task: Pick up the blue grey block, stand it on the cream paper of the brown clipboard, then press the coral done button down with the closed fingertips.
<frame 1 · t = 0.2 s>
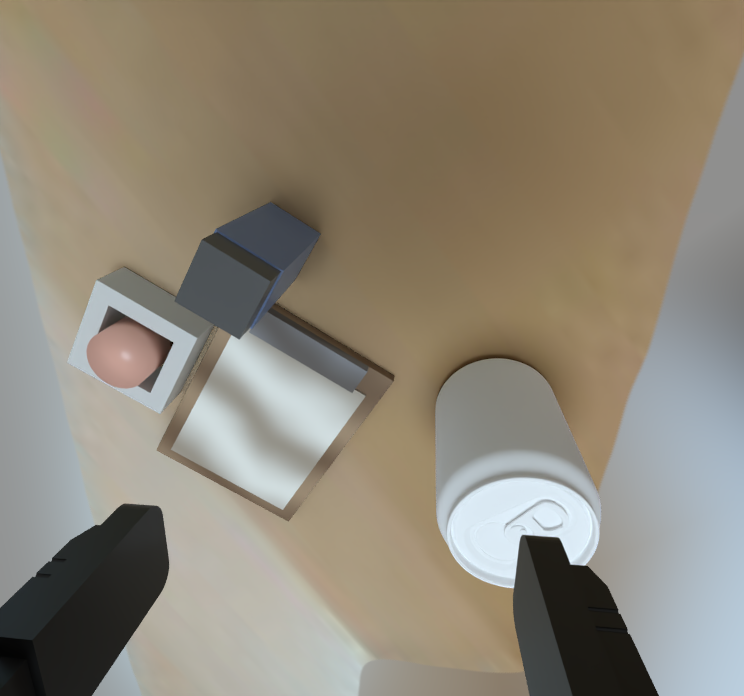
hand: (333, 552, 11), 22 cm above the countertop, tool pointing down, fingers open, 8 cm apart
beverage can: (493, 404, 34), on the countertop
blue grey block: (283, 242, 31), on the countertop
button housing: (153, 333, 35), on the countertop
done button: (130, 350, 32), point 3 cm above the countertop, slide at 0.0 cm
clipboard: (269, 412, 37), on the countertop
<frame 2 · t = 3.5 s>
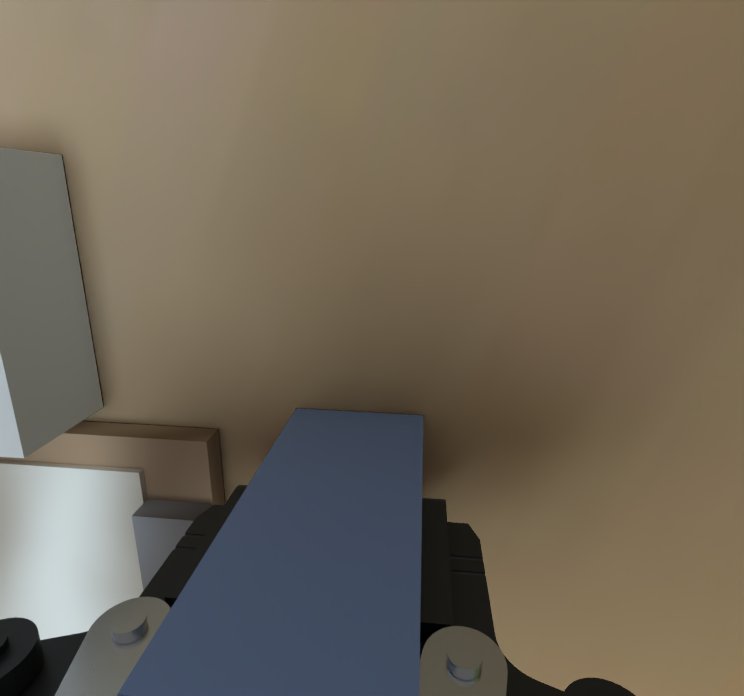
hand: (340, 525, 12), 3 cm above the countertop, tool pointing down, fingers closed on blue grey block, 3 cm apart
blue grey block: (358, 468, 14), on the countertop, touching gripper
clipboard: (9, 573, 17), on the countertop
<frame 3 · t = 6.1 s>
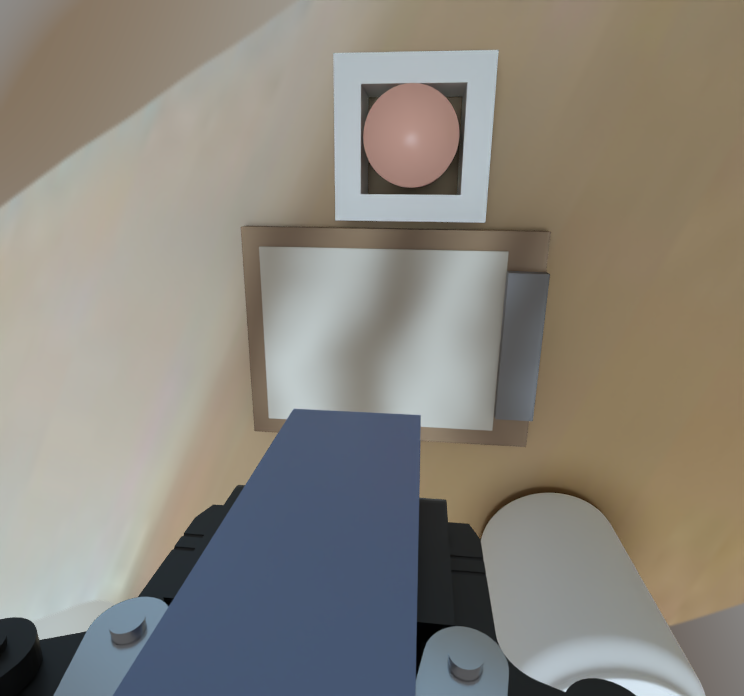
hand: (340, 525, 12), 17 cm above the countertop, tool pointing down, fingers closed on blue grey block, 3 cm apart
beverage can: (543, 540, 31), on the countertop
blue grey block: (356, 468, 14), point 14 cm above the countertop, touching gripper
button housing: (413, 147, 25), on the countertop
done button: (411, 140, 22), point 3 cm above the countertop, slide at 0.0 cm
clipboard: (389, 337, 28), on the countertop
when the fingers open (4 cm above the countertop, at t = 8.6 s): blue grey block stays where it is, resting on clipboard.
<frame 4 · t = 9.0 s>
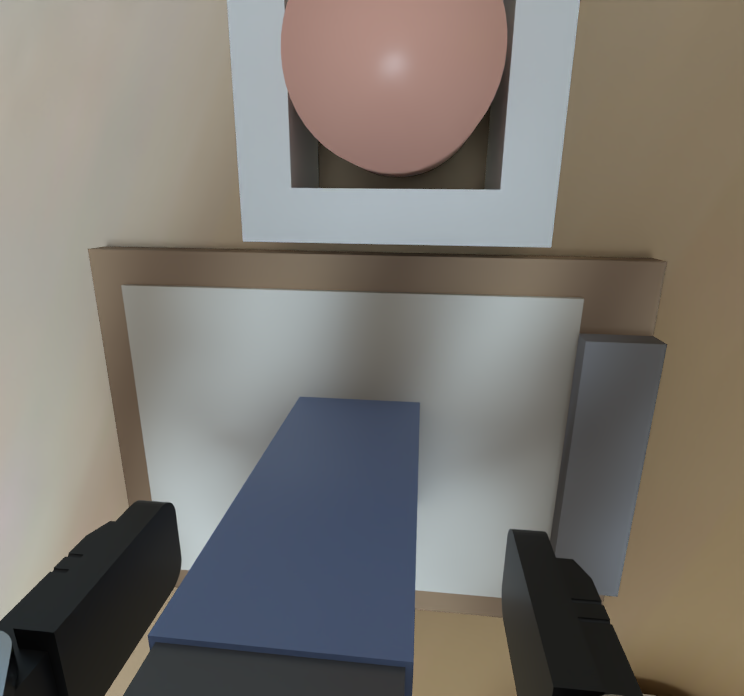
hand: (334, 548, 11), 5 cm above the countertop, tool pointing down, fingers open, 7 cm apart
blue grey block: (359, 453, 15), point 1 cm above the countertop, touching clipboard
button housing: (402, 99, 13), on the countertop
done button: (396, 71, 10), point 3 cm above the countertop, slide at 0.0 cm
clipboard: (363, 438, 16), on the countertop
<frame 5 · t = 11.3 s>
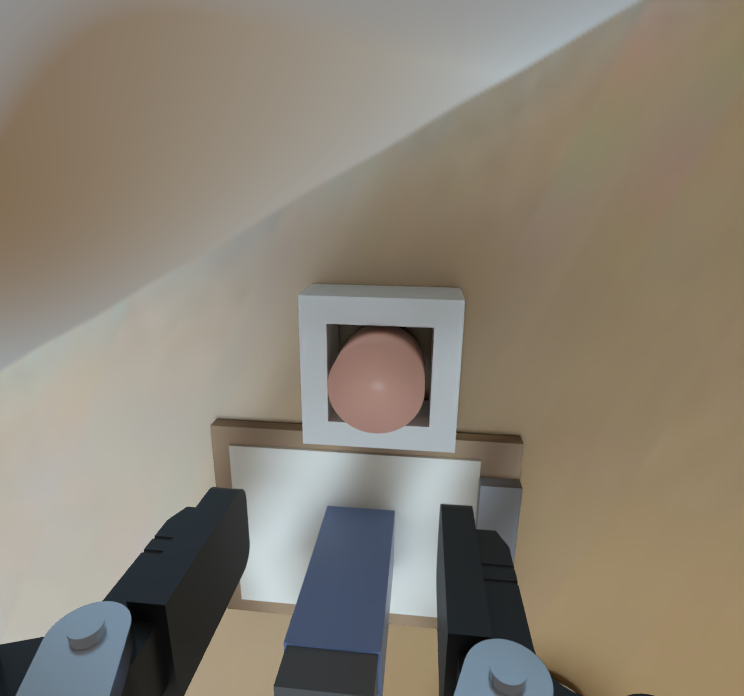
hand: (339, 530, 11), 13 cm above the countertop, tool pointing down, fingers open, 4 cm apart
blue grey block: (360, 536, 26), point 1 cm above the countertop, touching clipboard
button housing: (384, 355, 24), on the countertop
done button: (378, 376, 21), point 3 cm above the countertop, slide at 0.0 cm
clipboard: (363, 524, 27), on the countertop
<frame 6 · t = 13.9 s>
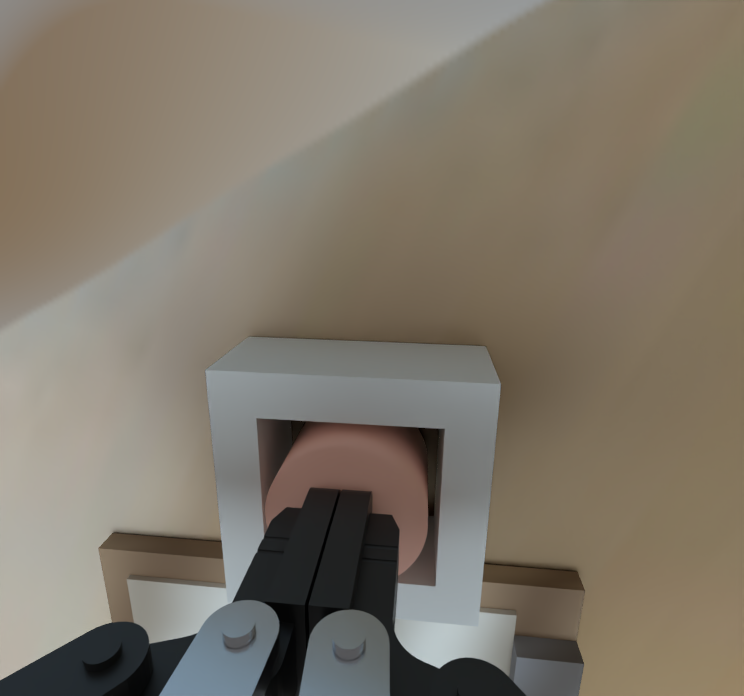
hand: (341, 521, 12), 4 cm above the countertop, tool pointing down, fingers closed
button housing: (363, 448, 15), on the countertop
done button: (353, 486, 13), point 2 cm above the countertop, slide at 0.9 cm, touching gripper
clipboard: (336, 684, 18), on the countertop
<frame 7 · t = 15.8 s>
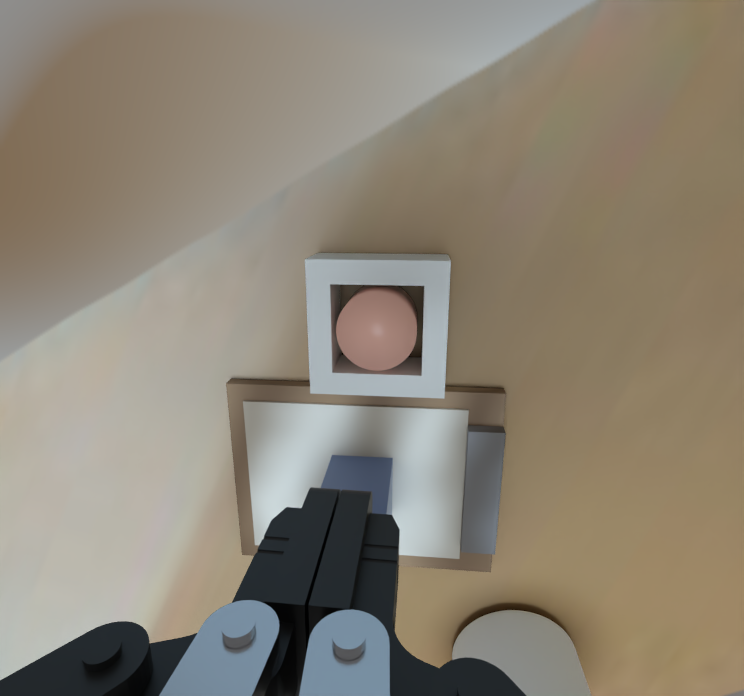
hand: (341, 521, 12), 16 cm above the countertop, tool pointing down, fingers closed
beverage can: (511, 647, 33), on the countertop
blue grey block: (362, 483, 29), point 1 cm above the countertop, touching clipboard
button housing: (381, 317, 27), on the countertop
done button: (378, 324, 25), point 2 cm above the countertop, slide at 1.2 cm
clipboard: (364, 474, 30), on the countertop
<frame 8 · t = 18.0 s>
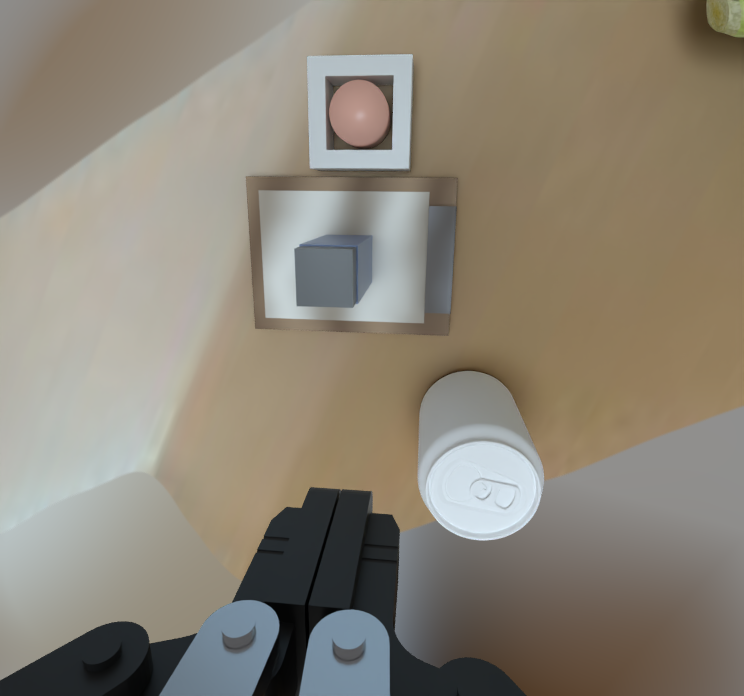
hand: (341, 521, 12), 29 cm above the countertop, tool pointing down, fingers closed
beverage can: (466, 411, 42), on the countertop
blue grey block: (349, 258, 38), point 1 cm above the countertop, touching clipboard
button housing: (364, 120, 36), on the countertop
done button: (361, 116, 34), point 2 cm above the countertop, slide at 1.2 cm
clipboard: (351, 257, 39), on the countertop
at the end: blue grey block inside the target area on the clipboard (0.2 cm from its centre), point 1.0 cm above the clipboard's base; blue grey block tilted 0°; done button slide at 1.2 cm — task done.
